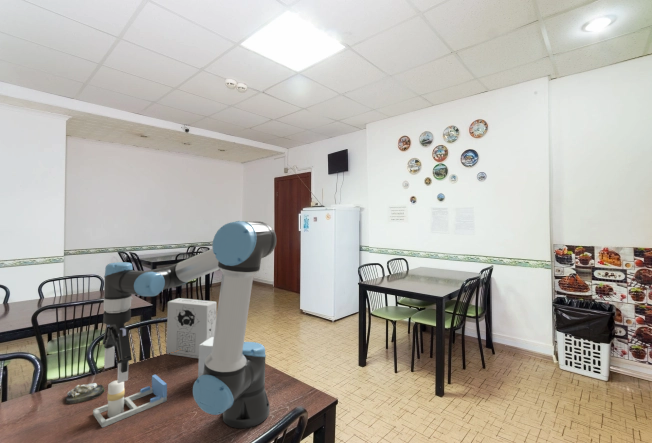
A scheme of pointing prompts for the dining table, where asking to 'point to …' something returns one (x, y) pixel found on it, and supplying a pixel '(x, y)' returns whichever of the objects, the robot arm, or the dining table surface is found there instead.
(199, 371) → the supplement box
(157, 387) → the grey slotted tray
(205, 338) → the cereal box
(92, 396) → the grey lumpy oval piece
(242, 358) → the robot arm
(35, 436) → the dining table surface
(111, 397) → the white cylinder
